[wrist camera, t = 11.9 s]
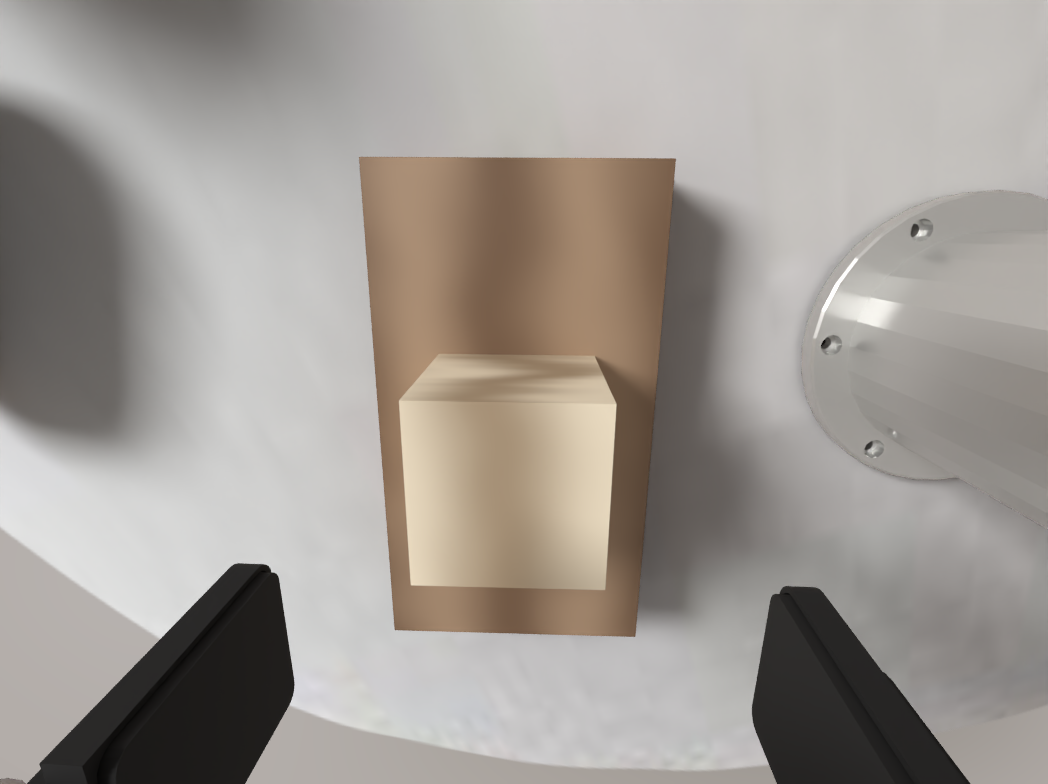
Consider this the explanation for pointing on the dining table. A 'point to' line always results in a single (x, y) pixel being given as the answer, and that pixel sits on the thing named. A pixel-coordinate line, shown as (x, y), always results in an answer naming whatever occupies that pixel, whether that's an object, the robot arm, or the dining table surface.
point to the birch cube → (508, 471)
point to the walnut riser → (520, 336)
